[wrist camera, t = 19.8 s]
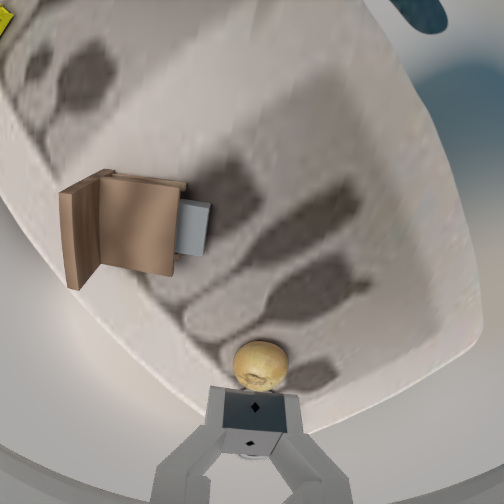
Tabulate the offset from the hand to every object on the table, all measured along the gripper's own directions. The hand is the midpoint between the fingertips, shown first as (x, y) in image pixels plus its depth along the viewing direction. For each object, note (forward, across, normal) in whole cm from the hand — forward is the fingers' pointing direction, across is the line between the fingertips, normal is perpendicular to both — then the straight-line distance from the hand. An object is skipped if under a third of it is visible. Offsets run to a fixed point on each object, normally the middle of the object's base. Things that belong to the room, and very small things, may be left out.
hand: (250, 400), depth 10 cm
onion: (+27, -6, +24) cm, 37 cm away
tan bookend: (+27, +12, +5) cm, 30 cm away
